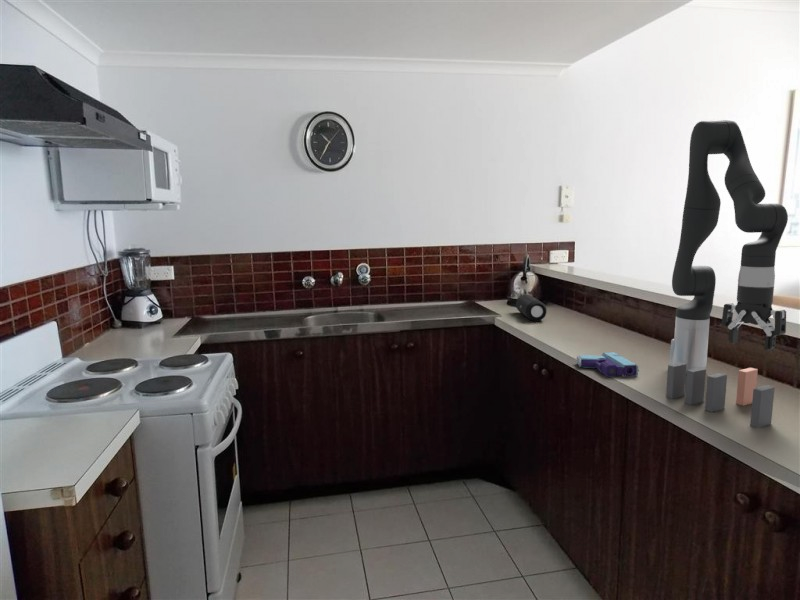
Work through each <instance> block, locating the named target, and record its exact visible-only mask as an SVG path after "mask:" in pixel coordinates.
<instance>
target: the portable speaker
mask: <svg viewBox="0 0 800 600" xmlns="http://www.w3.org/2000/svg"><path fill="white" fill-rule="evenodd" d="M515 307H516V310H517V311H518V312H519V313H521V314H522V315H523V316H525V317H526V318H528V319H529V320H530V321H531V322H540V321H541V320H542V321H543V319H544V318H545V317H546V316H547V311H548V310H547V307H546V304H545V303H544V302H542V301H540V300H539V299H537V298H535V297H534V296H532V295H531V294H528V293H526V294H521V295H520V296H518V297H517V299H516V302H515Z"/></svg>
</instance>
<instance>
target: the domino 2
mask: <svg viewBox="0 0 800 600" xmlns="http://www.w3.org/2000/svg"><path fill="white" fill-rule="evenodd" d="M706 377H707V368H706V369H704V368H700V367H699V368H695V369H690V370H687V374H686V380H685V393H684V404H685V405H686V404H687V405H688V406H693V404H694V405H697V403H698V404H702V403H704V402H705V401H704V400H705V392H706V389H705V387H706V379H707V378H706ZM701 402H702V403H701Z"/></svg>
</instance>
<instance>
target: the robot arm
mask: <svg viewBox="0 0 800 600" xmlns="http://www.w3.org/2000/svg"><path fill="white" fill-rule="evenodd" d="M746 146H747V145H746V143H745V140H744V137H743V133H742V131H741V128H740V127H739V124H738V123H737V122H736V121H735V120H732V119H711V120H709V119H708V120H701V121H698V122H696V124H695V125H694V126H693V129H692V132H691V135H690V142H689V157H688V160H689V162H688V177H687V187H686V191H685V192H686V193H685V200H684V205H683V210H682V211H683V212H682V220H681V221H682V222H681V228H680V229H681V232H680V239H679V243H678V250H677V254H676V257H675V258H676V259H675V262H674V267H673V271H672V278H671V288H672V291H673V293H674V294H675V295H676V296H679V297H693V298H692V300H691V301H689V302H687V303H685V304H682V305H679V306H678V307H677V308H676V310H675V322H674V323H675V324H674V325H675V326H674V337H673V338H672V339H670V340H671V341H670V352H669V353H670V354H669V365H670V364H675V363H680V362H681V363H685V364H687V366H686V375H687V370H690V369H695V368H699V367H700V368H704V369H706V370H707V359H708V349H709V347H708V346H709V335H710V320H711V319H710V318H711V313H712V311H713V307H714V297H715V291H716V282H717V281H716V279H717V278H716V274H715V270H714V268H713V267H712V266H709V265H693V263H694V260H695V259H694V258H695V257H696V254H697V252H698V250H699V249H700V247H702V245H703V244H704V242H705V241H706V240H707V239H708V238H709V237H710V235H711V234H712V233H713V231H714V230H715V229H716V227H717V225H718V222H719V218H720V217H719V215H720V211H721V204H722V203H721V202H722V201H721V198H720V194H719V193H718V190H717V189H716V187H715V185H714V183H713V181H712V179H711V177H710V174H709V169H708V167H709V166H708V164H709V163H708V161H709V155H722V154H723V155H724V156H726V158H727V159H728V161H729V163H728V166H727V168H726V171H725V174H724V186H725V188H726V190H727V193H728V194H729V197H730V198H731V200H732V202H733V210H734V222H735V225H736V226H737V229H739V230H740V231H742V232H744V233H747V234H750V233H752V234H753V233H761V234H760V236H759V237H758V238H757V240H754V241H752V242H747V243H745V244H743V246H742V248H741V258H740V266H739V272H738V276H737V277H738V279H737V289H736V291H737V292H736V304H734V303H725V304H724V305H723V310H722V317H721V326H723V327H726V328H727V329H728V338H727V339H728V342H729V343H730V344H731V345H735V344H738V342H739V331H740V330H739V328H740V327H741V325H743V324H752V325H756V326H759V328H760V329H762V330H763V331H764V333H765V334H766V335H765V340H764V351H767V352H769V351H773V349H775V348H776V342H777V336H780V335H785V334H786V333H787V332H786V331H787V311H786V310H785V309H780V310H777V309H776V310H775V309H773V307H772V305H773V303H774V292H775V281H776V280H775V279H776V278H775V277H776V271H775V270H776V269H775V266H776V254H777V250H778V246H779V244H780V243H781V242H780V241H781V239H782V236H783V235H784V231H785V230H786V228H787V224H788V220H789V215H788V212H787V211H788V210H787V209H786V207H784V205H782V204H780V203H761V202H763V200H764V199H765V197H766V190H765V188H764V185H763V184H762V182H761V181H760V179H759V177H758V176H757V174H756V173H755V170H754V168H753V166H752V163H751V161H750V157H749V153H748V150H747V147H746ZM734 312H736V314H737V315H736V317H734V319H733V315H734ZM771 316H772V317H773V319H774V322H773V321H772V320H771V318H770V317H771Z"/></svg>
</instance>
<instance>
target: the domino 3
mask: <svg viewBox="0 0 800 600" xmlns="http://www.w3.org/2000/svg"><path fill="white" fill-rule="evenodd" d="M706 377H707V378H706V389H705V401H704V402H705V403H704V411H706V410H707V412H709V411H710V413H714V412H713V411H715V412H718V411H721V410H724V409H725V405H726V394H727V382H728V381H727V380H728V374H726V373H723V372H717V373H715V374H714V373H713V374H710V375H706Z"/></svg>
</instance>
